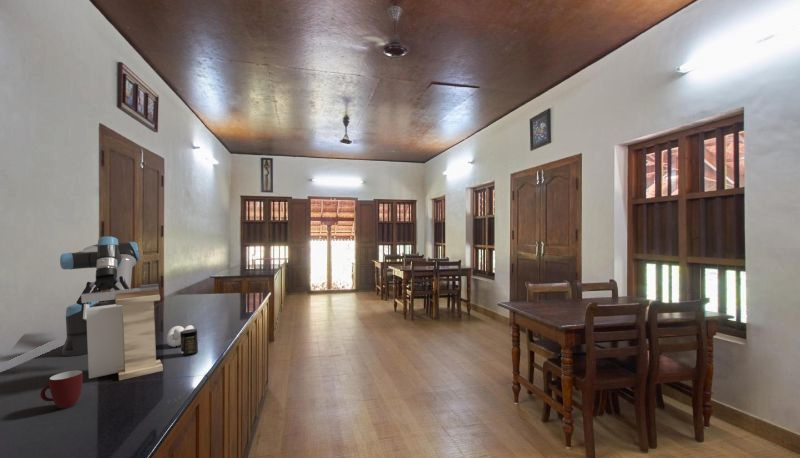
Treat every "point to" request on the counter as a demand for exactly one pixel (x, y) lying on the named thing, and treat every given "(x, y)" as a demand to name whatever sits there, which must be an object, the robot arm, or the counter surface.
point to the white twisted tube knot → (176, 335)
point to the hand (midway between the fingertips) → (104, 316)
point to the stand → (138, 333)
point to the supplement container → (189, 342)
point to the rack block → (104, 340)
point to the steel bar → (114, 293)
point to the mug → (64, 388)
